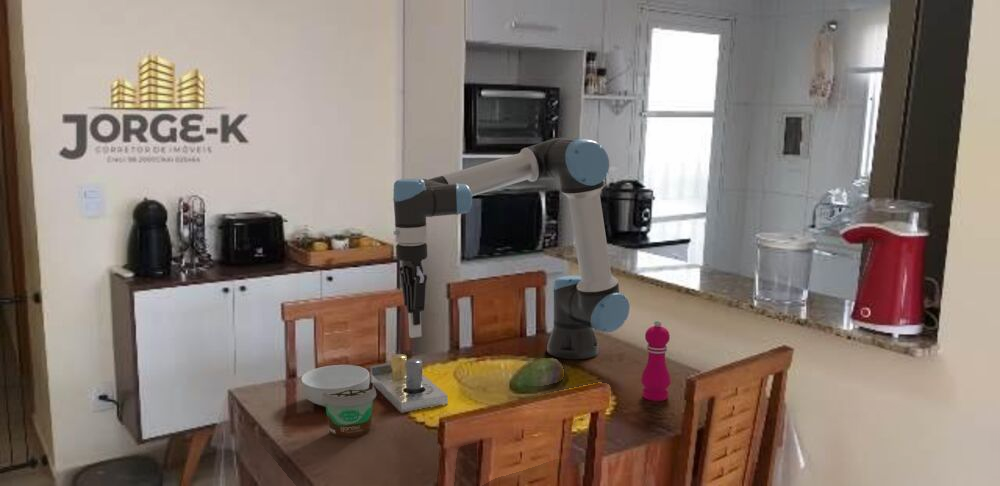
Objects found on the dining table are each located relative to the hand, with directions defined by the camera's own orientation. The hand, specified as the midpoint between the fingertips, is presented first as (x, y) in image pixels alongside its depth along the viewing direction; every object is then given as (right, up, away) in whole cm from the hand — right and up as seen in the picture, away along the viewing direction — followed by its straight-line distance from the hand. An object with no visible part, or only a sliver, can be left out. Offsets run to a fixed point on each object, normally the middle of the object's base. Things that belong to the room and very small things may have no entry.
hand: (415, 336), depth 198 cm
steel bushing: (-1, -16, +2) cm, 16 cm away
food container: (-12, -20, -19) cm, 30 cm away
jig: (-3, -15, +7) cm, 17 cm away
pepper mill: (+60, -16, +4) cm, 63 cm away
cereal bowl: (-20, -17, +1) cm, 26 cm away
